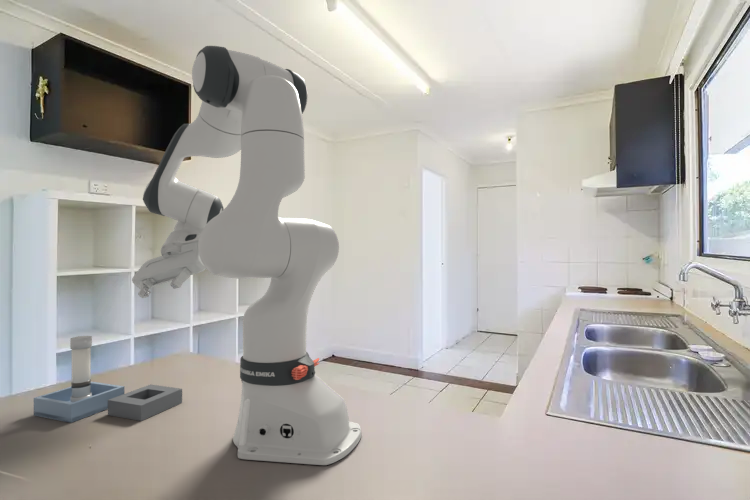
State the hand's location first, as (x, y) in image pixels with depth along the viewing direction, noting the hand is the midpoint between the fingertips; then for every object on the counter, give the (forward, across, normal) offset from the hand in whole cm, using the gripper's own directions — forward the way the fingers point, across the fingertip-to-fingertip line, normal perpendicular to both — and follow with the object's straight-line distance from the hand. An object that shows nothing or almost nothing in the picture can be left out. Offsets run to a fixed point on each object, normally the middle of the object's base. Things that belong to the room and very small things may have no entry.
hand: (158, 291), depth 93 cm
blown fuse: (+22, -14, +6) cm, 27 cm away
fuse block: (+23, -1, +12) cm, 25 cm away
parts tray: (+23, -14, +7) cm, 28 cm away
